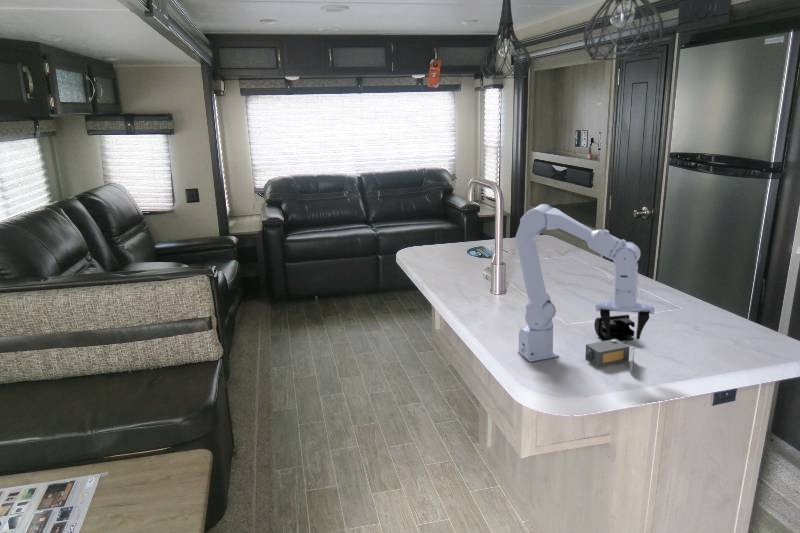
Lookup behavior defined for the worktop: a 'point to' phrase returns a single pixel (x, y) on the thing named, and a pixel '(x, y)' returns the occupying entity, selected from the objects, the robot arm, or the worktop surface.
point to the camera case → (607, 352)
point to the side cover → (631, 359)
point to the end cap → (615, 328)
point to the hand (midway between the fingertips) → (622, 336)
